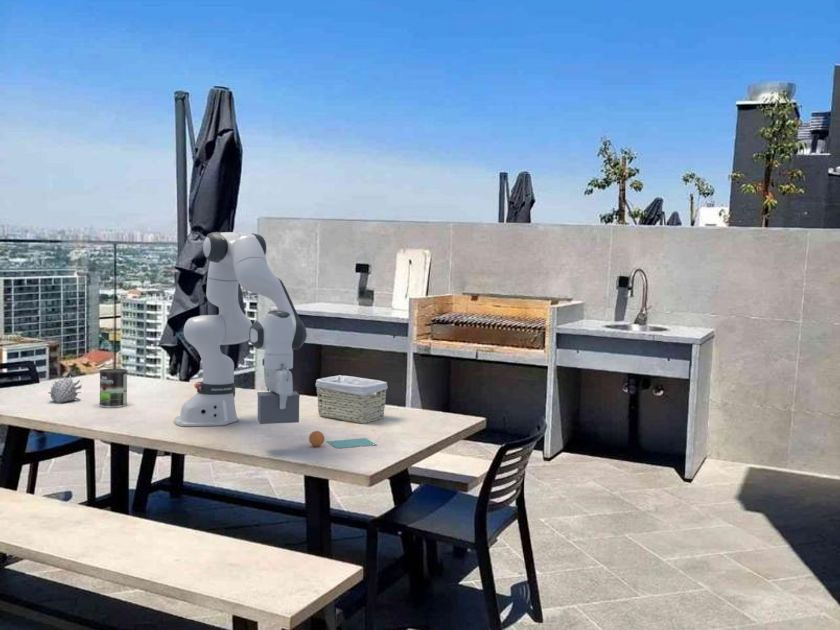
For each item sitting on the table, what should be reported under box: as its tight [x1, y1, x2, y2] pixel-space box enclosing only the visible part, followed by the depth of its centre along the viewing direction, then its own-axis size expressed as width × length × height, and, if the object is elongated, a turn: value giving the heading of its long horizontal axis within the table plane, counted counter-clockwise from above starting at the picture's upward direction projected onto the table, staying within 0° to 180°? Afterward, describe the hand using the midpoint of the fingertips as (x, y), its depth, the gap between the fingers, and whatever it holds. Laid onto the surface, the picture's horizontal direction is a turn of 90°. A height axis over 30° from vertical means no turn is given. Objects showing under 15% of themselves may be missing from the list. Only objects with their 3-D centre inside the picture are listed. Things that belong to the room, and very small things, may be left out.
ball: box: [308, 430, 325, 447], centre depth 252 cm, size 5×5×5 cm
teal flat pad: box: [326, 437, 378, 449], centre depth 257 cm, size 14×10×1 cm
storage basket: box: [315, 374, 389, 424], centre depth 298 cm, size 24×16×15 cm
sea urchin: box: [47, 375, 83, 404], centre depth 314 cm, size 12×11×12 cm
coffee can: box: [99, 368, 128, 409], centre depth 309 cm, size 10×10×14 cm
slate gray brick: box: [256, 390, 301, 425], centre depth 245 cm, size 12×7×9 cm, turn 109°
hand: (278, 406), depth 245 cm, fingers closed on slate gray brick, 7 cm apart
